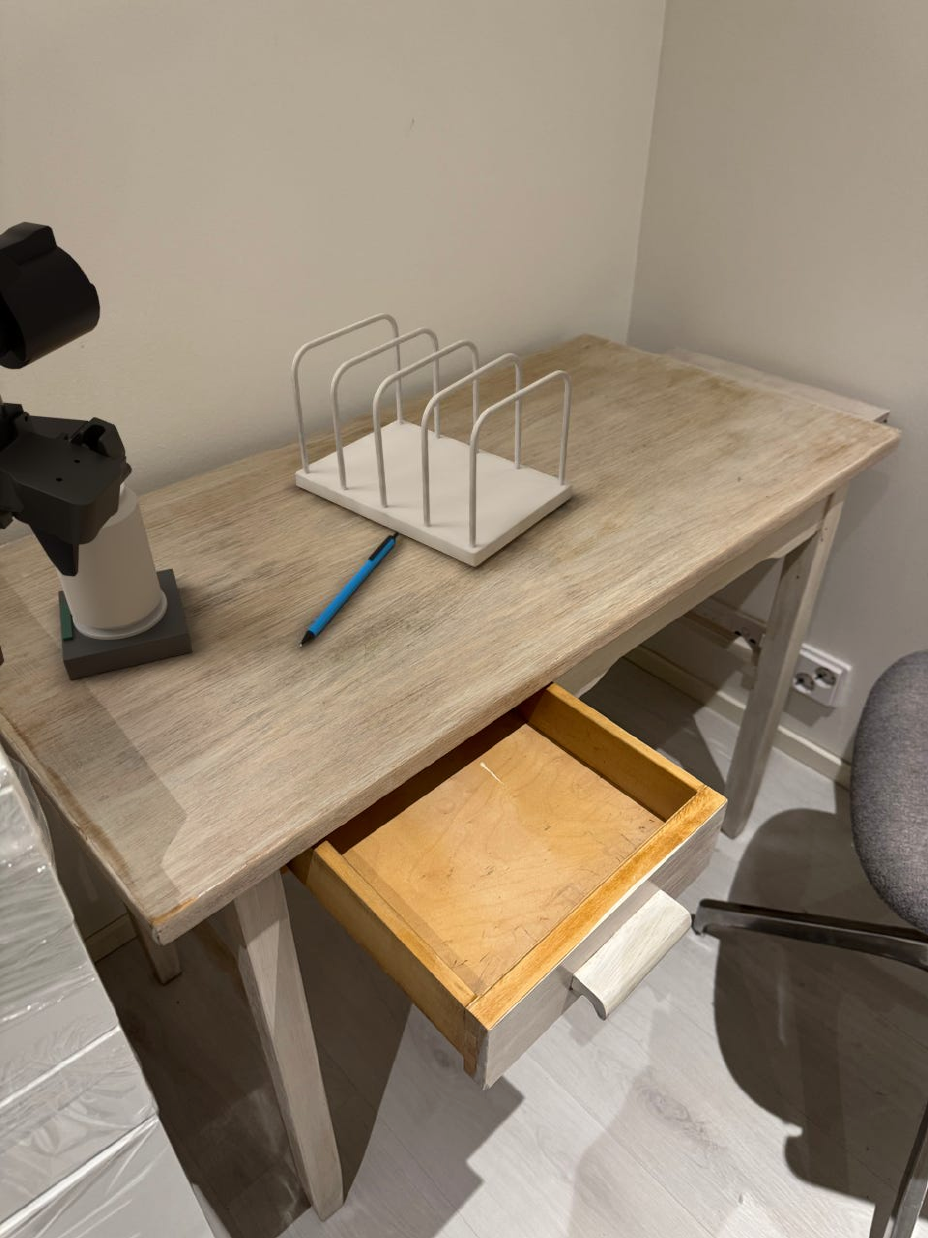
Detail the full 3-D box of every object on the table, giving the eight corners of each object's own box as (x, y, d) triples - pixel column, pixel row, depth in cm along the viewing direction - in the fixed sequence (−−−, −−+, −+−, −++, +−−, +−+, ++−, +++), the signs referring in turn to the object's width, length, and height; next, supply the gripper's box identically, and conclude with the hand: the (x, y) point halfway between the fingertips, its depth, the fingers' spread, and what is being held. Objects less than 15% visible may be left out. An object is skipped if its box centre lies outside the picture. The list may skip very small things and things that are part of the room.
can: (181, 606, 77) (152, 486, 70) (103, 648, 73) (63, 524, 65) (132, 572, 81) (100, 454, 74) (56, 610, 77) (13, 489, 69)
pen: (401, 538, 91) (400, 528, 90) (305, 651, 77) (303, 641, 76) (393, 536, 91) (392, 526, 90) (296, 648, 77) (294, 638, 77)
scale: (69, 680, 74) (61, 656, 72) (64, 610, 81) (56, 587, 79) (192, 652, 77) (187, 628, 75) (177, 586, 84) (171, 564, 82)
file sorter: (572, 499, 97) (586, 361, 87) (474, 572, 86) (477, 424, 76) (399, 431, 109) (394, 303, 99) (294, 487, 98) (277, 350, 88)
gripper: (-23, 511, 41) (75, 737, 52) (154, 343, 55) (204, 547, 65) (-233, 488, 43) (-97, 711, 53) (-9, 331, 57) (64, 532, 67)
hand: (35, 616), depth 60 cm, fingers open, 9 cm apart
